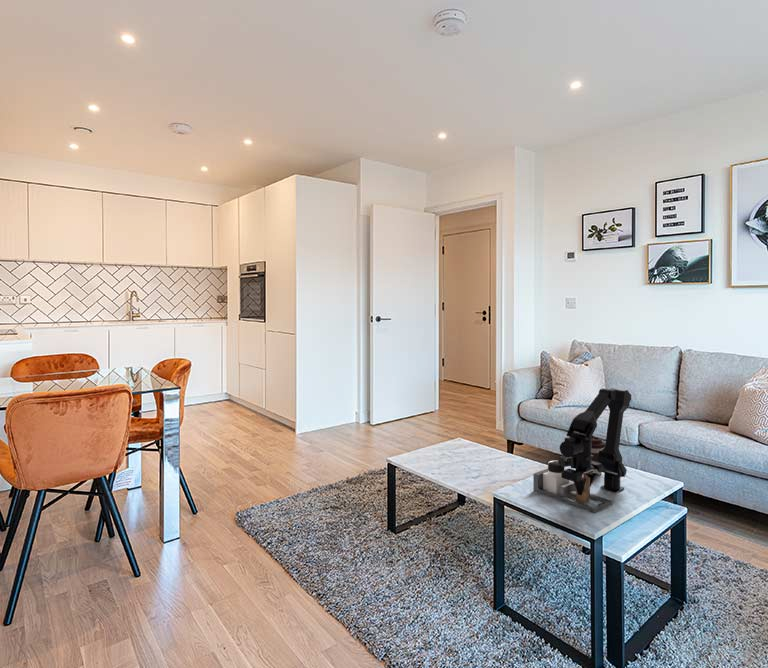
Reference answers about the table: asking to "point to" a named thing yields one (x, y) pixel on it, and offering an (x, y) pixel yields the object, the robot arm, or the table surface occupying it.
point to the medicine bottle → (553, 477)
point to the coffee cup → (596, 450)
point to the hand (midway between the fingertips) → (582, 493)
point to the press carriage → (571, 491)
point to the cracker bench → (539, 489)
